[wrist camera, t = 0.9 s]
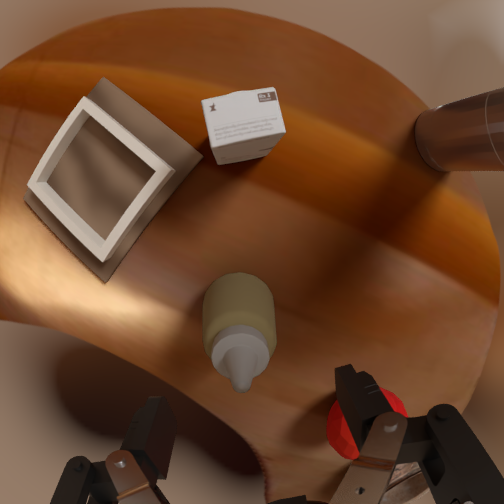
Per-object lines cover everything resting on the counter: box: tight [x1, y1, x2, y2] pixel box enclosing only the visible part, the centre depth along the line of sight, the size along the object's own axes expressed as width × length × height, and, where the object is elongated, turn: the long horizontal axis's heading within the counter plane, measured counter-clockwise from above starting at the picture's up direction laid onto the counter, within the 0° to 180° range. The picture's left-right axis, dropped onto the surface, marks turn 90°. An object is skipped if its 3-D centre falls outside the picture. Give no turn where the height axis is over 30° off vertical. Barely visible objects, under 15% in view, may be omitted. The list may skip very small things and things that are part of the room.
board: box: [23, 77, 204, 283], centre depth 31 cm, size 20×18×1 cm
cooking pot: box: [381, 462, 430, 504], centre depth 40 cm, size 25×19×12 cm
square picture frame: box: [27, 97, 175, 262], centre depth 30 cm, size 13×15×2 cm
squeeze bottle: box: [202, 272, 277, 393], centre depth 27 cm, size 8×8×18 cm
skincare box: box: [201, 87, 286, 165], centre depth 26 cm, size 6×4×12 cm
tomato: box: [326, 387, 408, 460], centre depth 34 cm, size 12×12×13 cm
